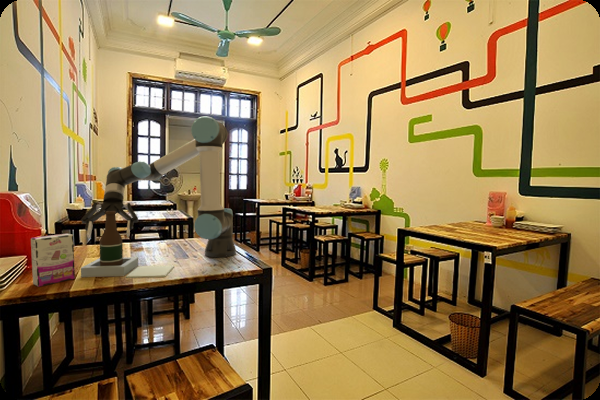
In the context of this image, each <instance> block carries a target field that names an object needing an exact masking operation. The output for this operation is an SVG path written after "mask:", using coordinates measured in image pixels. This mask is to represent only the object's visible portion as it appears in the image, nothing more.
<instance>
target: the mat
mask: <svg viewBox="0 0 600 400" xmlns="http://www.w3.org/2000/svg"><path fill="white" fill-rule="evenodd" d="M174 268H175V265H173V264H172V265H138V266H137V267H135V268H134V269H133V270H131V271H130V272H129V273H128V274H126V275H125V278H126V279H133V278H134V279H136V278H137V279H138V278H139V279H140V278H166V277H167V276H168V275H169V273H170V272H171V271H172V270H173V269H174Z"/></svg>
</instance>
